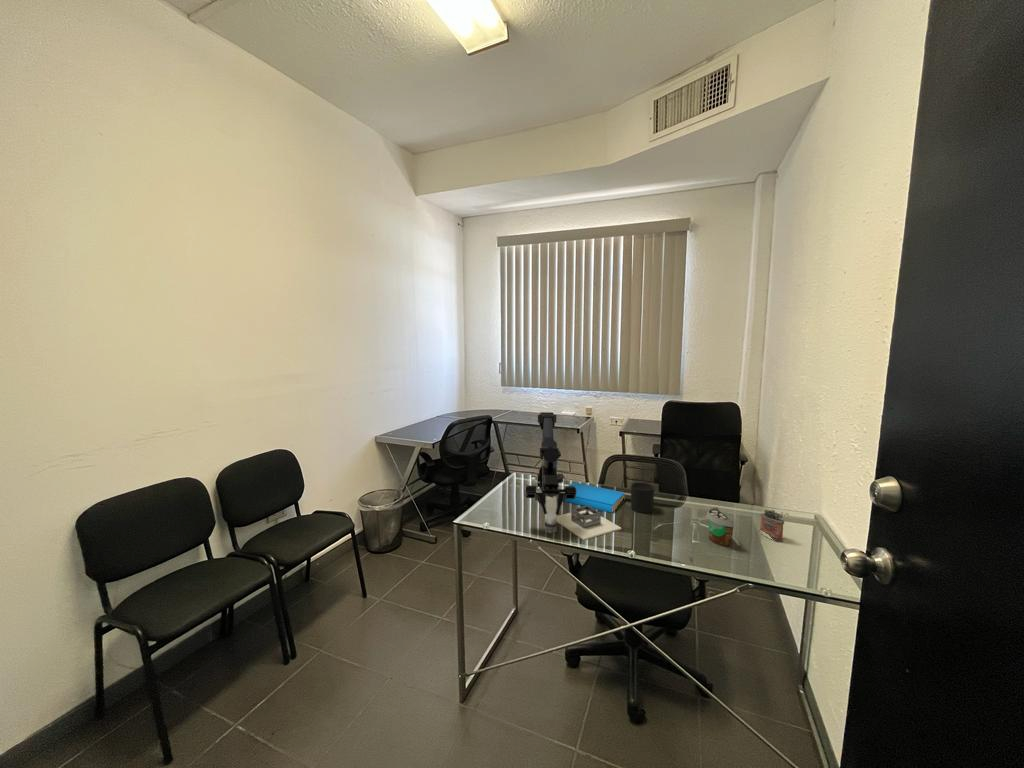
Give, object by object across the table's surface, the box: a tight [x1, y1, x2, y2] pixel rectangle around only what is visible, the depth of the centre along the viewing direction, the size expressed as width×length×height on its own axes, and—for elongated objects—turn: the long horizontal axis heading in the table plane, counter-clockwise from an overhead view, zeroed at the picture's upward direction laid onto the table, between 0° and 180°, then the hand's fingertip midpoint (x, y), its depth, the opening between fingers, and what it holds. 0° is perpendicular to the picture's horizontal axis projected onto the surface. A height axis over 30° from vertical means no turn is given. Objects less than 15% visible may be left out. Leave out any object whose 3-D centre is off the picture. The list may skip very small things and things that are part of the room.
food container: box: [705, 506, 735, 548], centre depth 143 cm, size 12×6×10 cm, turn 178°
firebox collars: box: [570, 505, 602, 529], centre depth 156 cm, size 8×8×5 cm
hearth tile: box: [557, 510, 622, 541], centre depth 156 cm, size 20×18×1 cm
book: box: [563, 481, 626, 514], centre depth 179 cm, size 17×4×25 cm
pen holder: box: [630, 482, 655, 514], centre depth 170 cm, size 9×9×10 cm
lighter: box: [759, 508, 785, 543], centre depth 145 cm, size 8×3×10 cm, turn 23°
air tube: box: [544, 494, 558, 534], centre depth 146 cm, size 5×5×13 cm
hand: (551, 514), depth 145 cm, fingers closed on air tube, 4 cm apart
